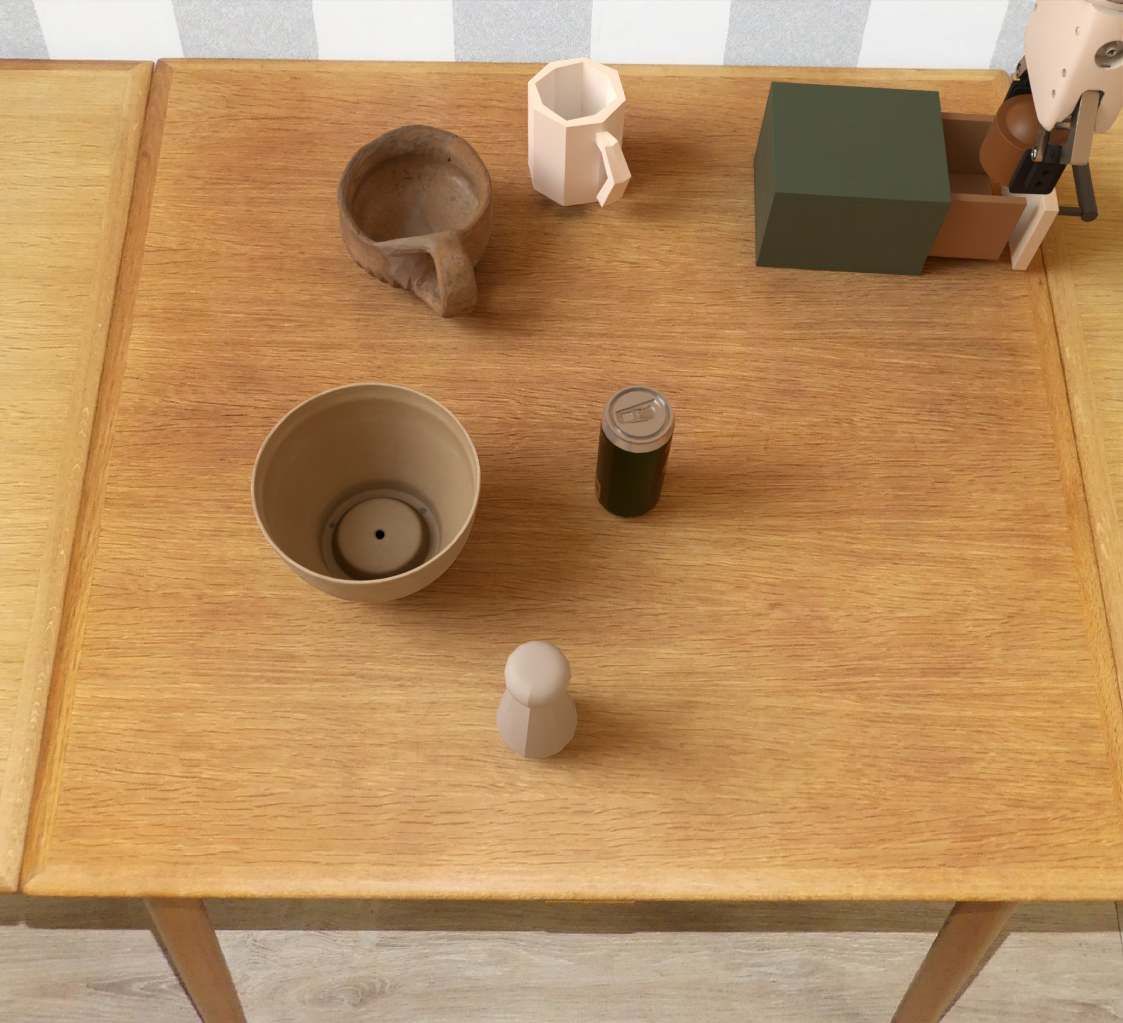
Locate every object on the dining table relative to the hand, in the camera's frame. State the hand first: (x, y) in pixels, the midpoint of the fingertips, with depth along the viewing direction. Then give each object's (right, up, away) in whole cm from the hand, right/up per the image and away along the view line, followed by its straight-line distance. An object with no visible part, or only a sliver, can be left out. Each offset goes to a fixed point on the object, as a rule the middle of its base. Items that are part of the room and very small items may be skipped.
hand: (1022, 155), depth 92 cm
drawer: (+2, 0, +19) cm, 19 cm away
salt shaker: (-37, -43, -3) cm, 57 cm away
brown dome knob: (0, 0, +1) cm, 1 cm away
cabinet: (-10, 0, +20) cm, 22 cm away
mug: (-33, +3, +21) cm, 39 cm away
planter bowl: (-49, -30, +4) cm, 57 cm away
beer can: (-30, -25, +6) cm, 39 cm away
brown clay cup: (-46, -5, +16) cm, 49 cm away
